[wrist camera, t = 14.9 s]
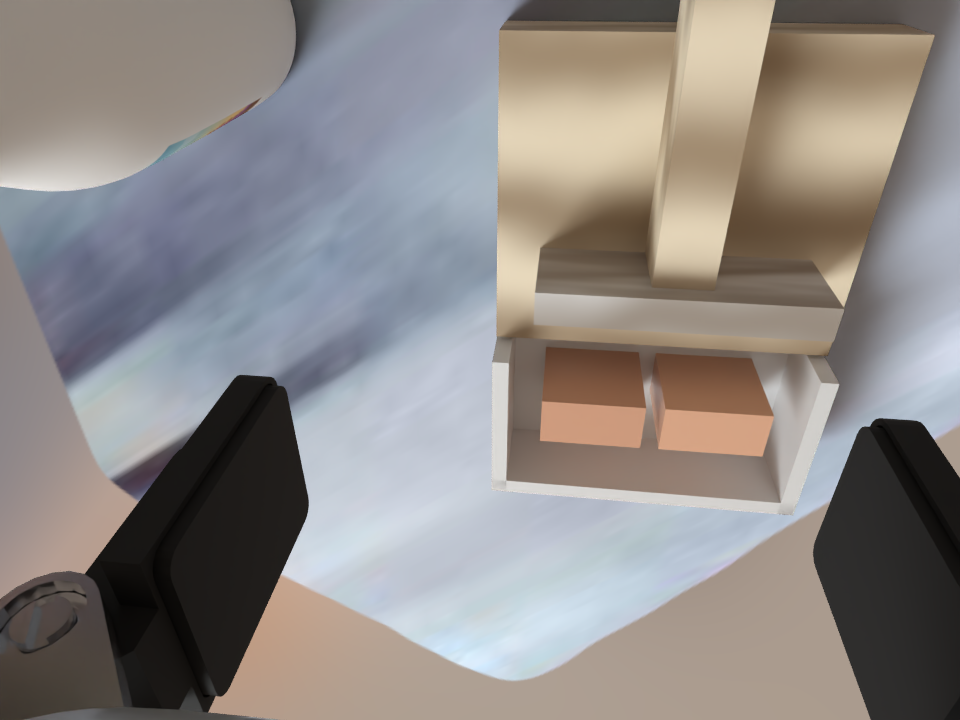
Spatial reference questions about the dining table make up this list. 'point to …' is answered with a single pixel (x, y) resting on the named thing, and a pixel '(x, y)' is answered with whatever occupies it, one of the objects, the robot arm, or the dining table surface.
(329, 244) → the dining table surface
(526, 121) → the board
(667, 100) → the scraper
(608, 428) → the tile
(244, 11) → the milk bottle
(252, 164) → the dining table surface
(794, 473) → the box
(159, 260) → the dining table surface
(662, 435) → the tile
